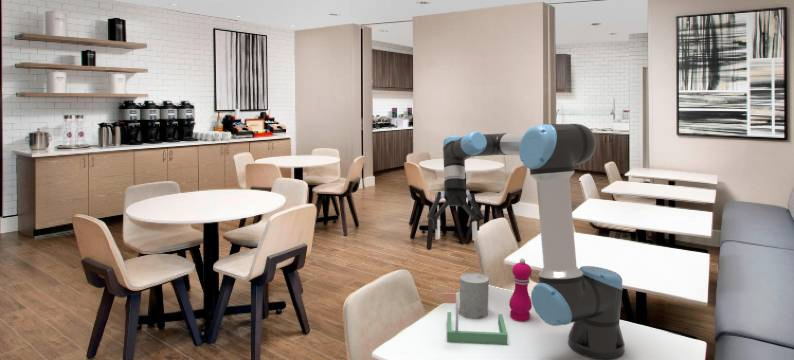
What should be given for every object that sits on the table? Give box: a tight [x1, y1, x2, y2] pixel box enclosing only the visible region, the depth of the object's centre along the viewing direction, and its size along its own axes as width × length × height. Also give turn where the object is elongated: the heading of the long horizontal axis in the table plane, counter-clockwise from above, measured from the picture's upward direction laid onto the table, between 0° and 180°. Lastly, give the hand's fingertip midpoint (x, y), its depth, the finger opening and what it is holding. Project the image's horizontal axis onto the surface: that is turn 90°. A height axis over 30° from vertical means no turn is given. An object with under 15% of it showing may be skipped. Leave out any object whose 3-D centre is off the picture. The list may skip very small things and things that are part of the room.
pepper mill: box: [508, 258, 533, 322], centre depth 166 cm, size 7×7×20 cm
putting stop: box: [442, 292, 509, 345], centre depth 156 cm, size 19×14×15 cm
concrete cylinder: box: [458, 272, 490, 320], centre depth 170 cm, size 10×10×12 cm
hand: (456, 239), depth 176 cm, fingers open, 13 cm apart
